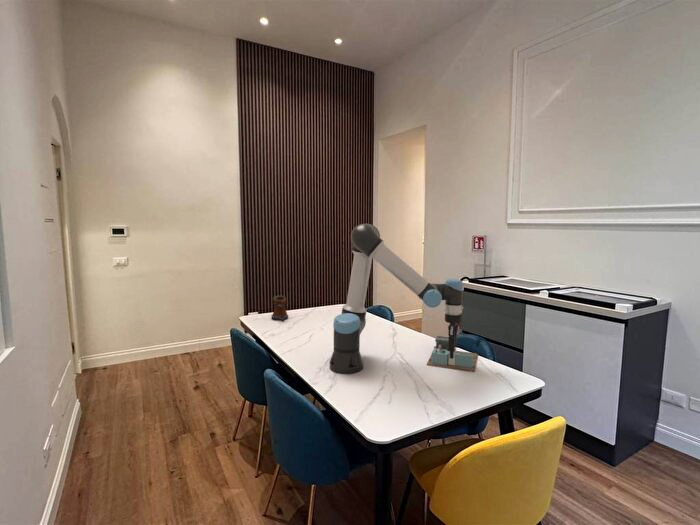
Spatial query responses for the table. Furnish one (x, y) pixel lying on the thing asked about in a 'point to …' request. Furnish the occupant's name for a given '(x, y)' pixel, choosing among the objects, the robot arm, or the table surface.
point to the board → (457, 366)
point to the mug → (279, 308)
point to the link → (460, 358)
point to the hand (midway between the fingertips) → (452, 362)
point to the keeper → (442, 342)
